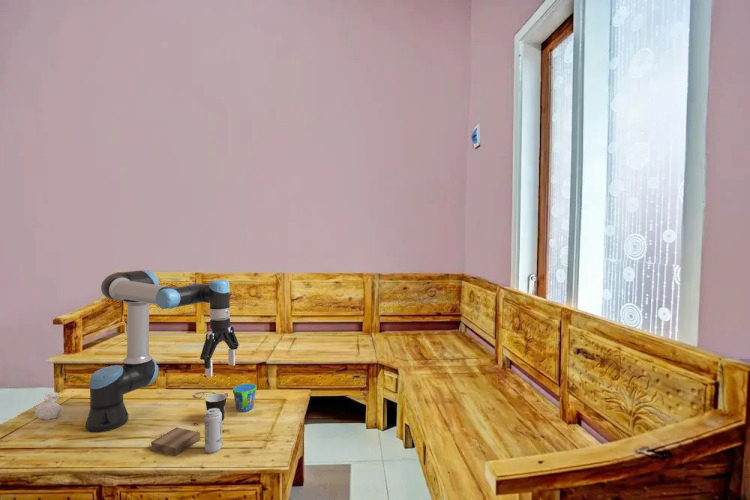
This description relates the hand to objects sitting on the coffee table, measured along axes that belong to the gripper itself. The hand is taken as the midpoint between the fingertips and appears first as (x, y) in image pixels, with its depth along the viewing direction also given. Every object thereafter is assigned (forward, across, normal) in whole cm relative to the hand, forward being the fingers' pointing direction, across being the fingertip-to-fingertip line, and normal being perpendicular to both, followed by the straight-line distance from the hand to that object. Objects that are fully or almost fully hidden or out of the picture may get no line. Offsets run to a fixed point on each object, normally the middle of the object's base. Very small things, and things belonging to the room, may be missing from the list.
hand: (220, 370), depth 158 cm
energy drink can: (+27, -10, -4) cm, 29 cm away
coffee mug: (+27, +11, +11) cm, 31 cm away
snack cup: (+27, +23, +6) cm, 36 cm away
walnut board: (+26, -12, +12) cm, 31 cm away
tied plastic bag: (+26, -11, +82) cm, 87 cm away
